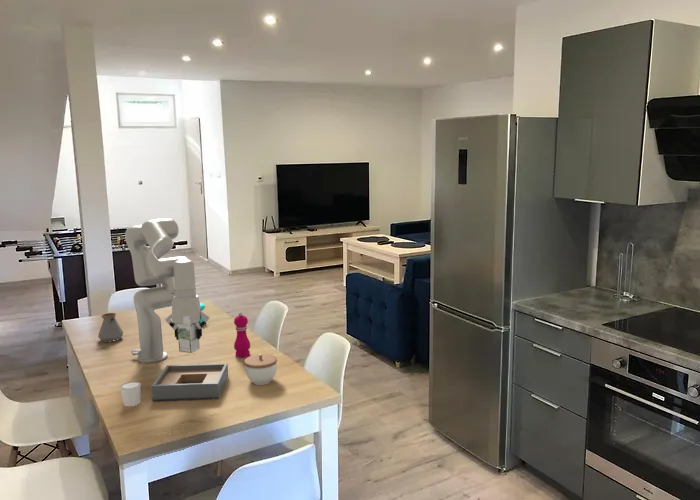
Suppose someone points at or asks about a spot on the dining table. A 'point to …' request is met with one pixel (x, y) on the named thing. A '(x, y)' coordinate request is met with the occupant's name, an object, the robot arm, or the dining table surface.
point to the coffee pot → (110, 328)
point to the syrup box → (188, 336)
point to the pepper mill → (241, 337)
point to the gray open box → (190, 382)
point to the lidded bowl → (261, 368)
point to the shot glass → (131, 393)
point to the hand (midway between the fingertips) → (188, 338)
